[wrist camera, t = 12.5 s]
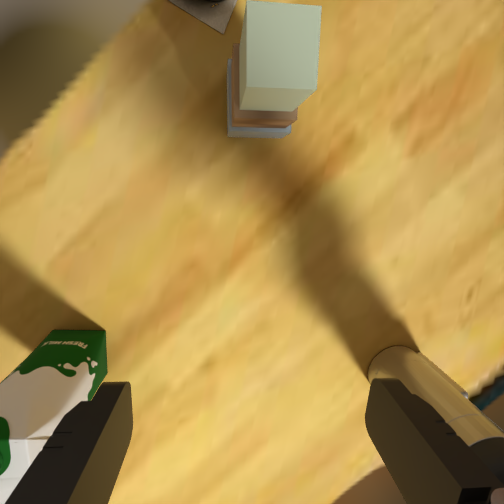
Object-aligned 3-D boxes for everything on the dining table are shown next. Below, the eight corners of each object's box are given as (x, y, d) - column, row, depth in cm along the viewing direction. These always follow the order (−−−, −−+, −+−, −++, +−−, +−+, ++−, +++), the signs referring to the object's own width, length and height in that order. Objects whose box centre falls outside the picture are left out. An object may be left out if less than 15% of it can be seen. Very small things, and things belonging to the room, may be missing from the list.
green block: (294, 51, 26) (321, 6, 19) (292, 111, 27) (316, 89, 20) (239, 47, 25) (246, 0, 18) (239, 109, 26) (246, 86, 20)
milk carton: (112, 324, 41) (16, 457, 21) (114, 378, 43) (29, 543, 24) (45, 323, 39) (-120, 462, 20) (51, 379, 42) (-93, 552, 22)
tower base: (283, 77, 35) (293, 62, 30) (281, 138, 37) (291, 132, 32) (226, 75, 34) (228, 58, 30) (227, 137, 36) (228, 130, 31)
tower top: (287, 68, 30) (300, 47, 26) (285, 128, 32) (296, 119, 27) (231, 65, 30) (233, 43, 25) (231, 126, 31) (234, 117, 26)
